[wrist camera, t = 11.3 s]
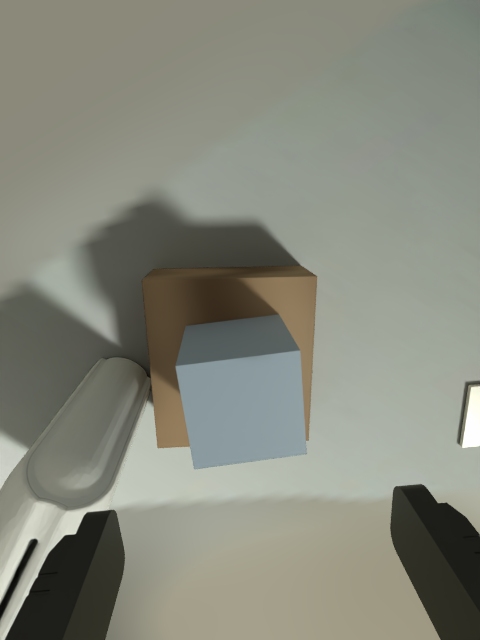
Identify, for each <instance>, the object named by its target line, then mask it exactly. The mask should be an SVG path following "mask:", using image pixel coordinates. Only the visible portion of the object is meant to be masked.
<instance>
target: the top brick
mask: <svg viewBox="0 0 480 640" xmlns="http://www.w3.org/2000/svg"><path fill="white" fill-rule="evenodd" d="M175 367H176V372H177V378H178V383H179V389H180V394H181V400H182V405H183V411H184V416H185V422H186V427H187V433H188V438H189V444H190V449H191V455H192V460H193V466H194V469H200V468H208V467H215V466H223V465H230V464H237V463H245V462H252V461H260V460H267V459H275V458H282V457H289V456H297V455H304V454H307V452H306V435H305V419H304V403H303V386H302V370H301V354H300V349H299V347H298V346H297V344H296V342H295V340H294V339H293V337H292V335H291V334H290V332H289V330H288V328H287V327H286V325H285V323H284V322H283V320H282V318H281V316H280V315H279V314H278V315H269V316H261V317H253V318H245V319H237V320H229V321H221V322H213V323H205V324H197V325H189V326H186V327H185V331H184V335H183V338H182V342H181V346H180V350H179V354H178V358H177V362H176V366H175Z"/></svg>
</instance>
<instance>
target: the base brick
mask: <svg viewBox="0 0 480 640" xmlns="http://www.w3.org/2000/svg"><path fill="white" fill-rule="evenodd" d="M142 288H143V299H144V309H145V320H146V331H147V341H148V352H149V362H150V373H151V383H152V394H153V404H154V415H155V425H156V436H157V447H158V448H170V447H190V444H189V438H188V433H187V427H186V422H185V416H184V411H183V405H182V400H181V394H180V389H179V383H178V378H177V372H176V367H175V366H176V362H177V358H178V354H179V350H180V346H181V342H182V338H183V335H184V331H185V327H186V326H189V325H197V324H205V323H213V322H221V321H229V320H237V319H245V318H253V317H261V316H269V315H278V314H279V315H280V316H281V318H282V320H283V322H284V323H285V325H286V327H287V328H288V330H289V332H290V334H291V335H292V337H293V339H294V340H295V342H296V344H297V346H298V347H299V349H300V354H301V370H302V386H303V403H304V419H305V435H306V441H308V440H309V421H310V402H311V383H312V364H313V345H314V326H315V307H316V289H317V276H316V275H314V274H313V273H311V272H310V271H308V270H307V269H305V268H304V267H302V266H268V267H222V268H176V269H153V270H152V271H151V272H150V273H149V274H148V275H147V276H146V277H145V278H144V279H143V280H142Z"/></svg>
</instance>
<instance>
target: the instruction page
mask: <svg viewBox="0 0 480 640" xmlns="http://www.w3.org/2000/svg"><path fill="white" fill-rule="evenodd" d="M460 446H461V447H473V446H480V384H475V385H468V391H467V398H466V405H465V411H464V418H463V425H462V432H461V438H460Z"/></svg>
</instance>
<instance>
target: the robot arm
mask: <svg viewBox="0 0 480 640" xmlns="http://www.w3.org/2000/svg"><path fill="white" fill-rule="evenodd" d="M390 529H391V537H392V541H393V545H394V547H395V550H396V552H397V554H398V556H399V558H400V560H401V562H402V564H403V566H404V568H405V570H406V572H407V574H408V576H409V578H410V580H411V582H412V584H413V586H414V588H415V590H416V592H417V594H418V596H419V598H420V600H421V602H422V604H423V606H424V608H425V610H426V611H427V614H428V615H429V618H430V620H431V621H432V623H433V625H434V627H435V629H436V631H437V633H438V635H439V637H440V639H441V640H480V535H479V533H478V532H477V531H476V530H475V528H474V527H473V526H472V524H471V523H470V522H469V521H468V519H467V518H466V517H465V516H464V515H462V514H461V513H460V512H458V511H457V510H456V509H454V508H453V507H452V506H450V505H449V504H448V503H437V501H436V500H435V499H434V497H433V496H432V495H431V493H430V492H429V491H428V489H427V488H426V487H425V486H424V485H422V484H418V485H407V486H396V487H395V488H394V490H393V500H392V513H391V527H390ZM124 561H125V554H124V546H123V542H122V537H121V532H120V527H119V522H118V518H117V513H116V511H115V510H106V511H94V512H87V513H86V514H85V515H84V517H83V519H82V521H81V523H80V525H79V527H78V530H77V532H76V534H73V535H65V536H64V537H63V538H62V539H61V540H60V541H59V542H58V543H57V544H56V546H55V547H54V548H53V549H52V550H51V551H50V552H49V553H48V555H47V557H46V559H45V561H44V563H43V565H42V567H41V569H40V571H39V573H38V577H37V578H36V579H35V581H34V583H33V585H32V587H31V589H30V591H29V595H28V596H26V598H25V600H24V602H23V604H22V606H21V608H20V610H19V612H18V614H17V616H16V618H15V620H14V622H13V624H12V626H11V628H10V630H9V632H8V634H7V636H6V638H5V640H105V638H106V634H107V631H108V627H109V623H110V620H111V616H112V612H113V609H114V605H115V602H116V598H117V594H118V591H119V587H120V583H121V580H122V575H123V570H124Z"/></svg>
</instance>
